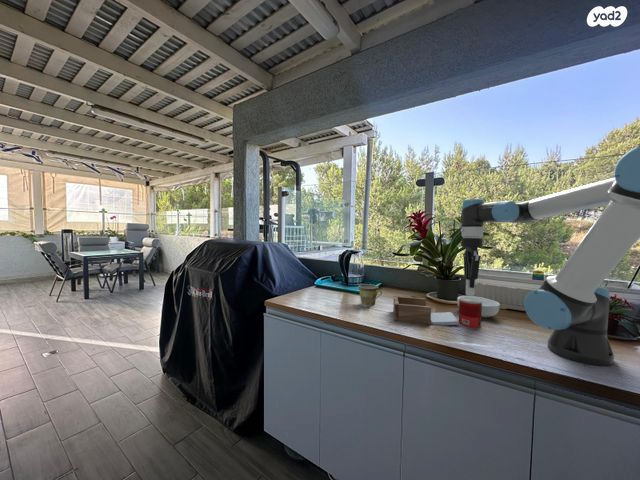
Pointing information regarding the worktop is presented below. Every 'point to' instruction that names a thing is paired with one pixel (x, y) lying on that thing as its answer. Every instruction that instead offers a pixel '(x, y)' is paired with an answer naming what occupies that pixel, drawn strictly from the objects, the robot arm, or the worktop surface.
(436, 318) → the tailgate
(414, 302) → the crate
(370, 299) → the ceramic cup
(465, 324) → the canned food
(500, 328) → the worktop surface
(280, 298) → the worktop surface
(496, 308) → the cereal bowl
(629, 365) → the worktop surface
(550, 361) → the worktop surface
